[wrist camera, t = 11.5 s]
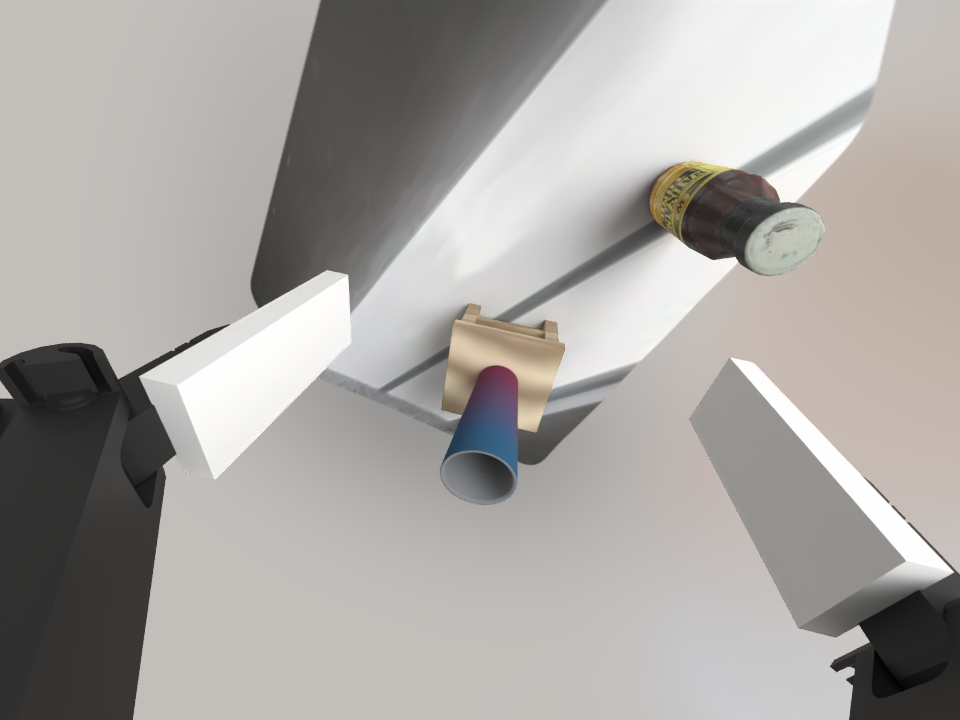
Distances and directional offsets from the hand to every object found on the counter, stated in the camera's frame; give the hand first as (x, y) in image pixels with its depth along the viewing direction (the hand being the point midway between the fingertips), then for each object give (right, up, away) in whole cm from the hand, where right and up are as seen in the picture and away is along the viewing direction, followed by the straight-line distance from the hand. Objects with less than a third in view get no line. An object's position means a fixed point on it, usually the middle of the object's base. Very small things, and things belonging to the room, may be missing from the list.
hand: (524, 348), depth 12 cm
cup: (+1, -3, +31) cm, 31 cm away
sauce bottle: (+19, +17, +25) cm, 36 cm away
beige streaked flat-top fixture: (+2, +1, +37) cm, 37 cm away
